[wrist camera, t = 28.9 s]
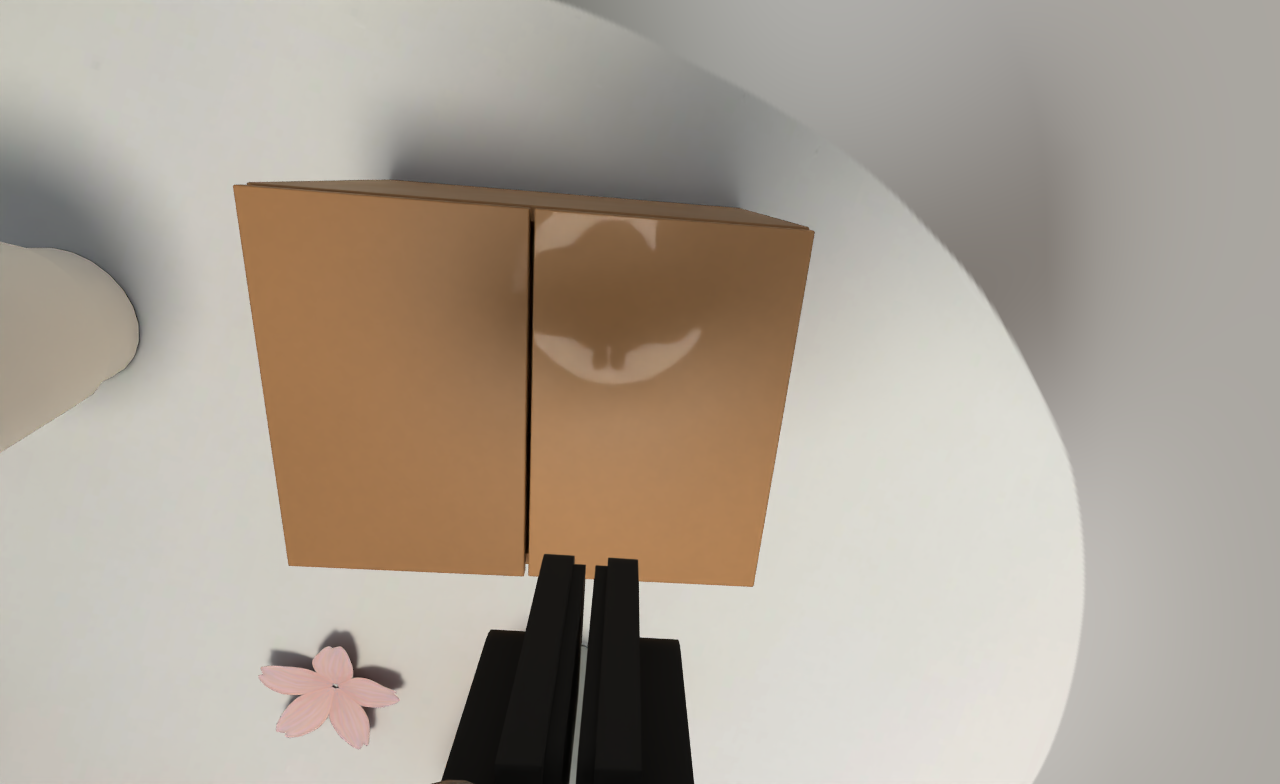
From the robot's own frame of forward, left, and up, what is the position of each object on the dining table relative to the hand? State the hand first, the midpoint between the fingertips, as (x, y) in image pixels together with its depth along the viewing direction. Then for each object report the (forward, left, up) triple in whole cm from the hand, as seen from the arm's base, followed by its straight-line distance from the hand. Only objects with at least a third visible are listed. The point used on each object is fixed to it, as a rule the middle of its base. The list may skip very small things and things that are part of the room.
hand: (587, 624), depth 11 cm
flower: (-8, +29, -22) cm, 37 cm away
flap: (-1, -1, -10) cm, 10 cm away
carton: (+2, +2, -22) cm, 22 cm away
